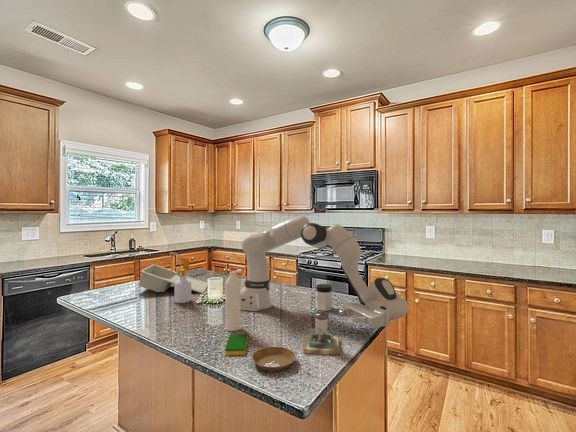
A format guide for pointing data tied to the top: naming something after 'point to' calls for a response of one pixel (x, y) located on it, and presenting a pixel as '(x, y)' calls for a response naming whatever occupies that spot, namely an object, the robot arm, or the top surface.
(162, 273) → the kitchen sink
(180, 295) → the soap bottle
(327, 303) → the jar
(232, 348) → the dish sponge
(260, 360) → the plant saucer
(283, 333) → the top surface
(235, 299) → the white spray bottle
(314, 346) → the post base
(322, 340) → the salt shaker
